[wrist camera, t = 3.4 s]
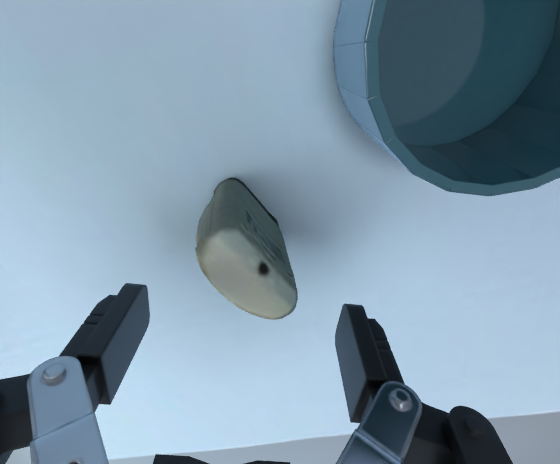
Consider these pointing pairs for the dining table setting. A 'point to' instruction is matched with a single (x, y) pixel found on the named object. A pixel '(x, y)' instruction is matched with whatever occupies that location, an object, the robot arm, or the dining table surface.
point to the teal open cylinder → (456, 88)
